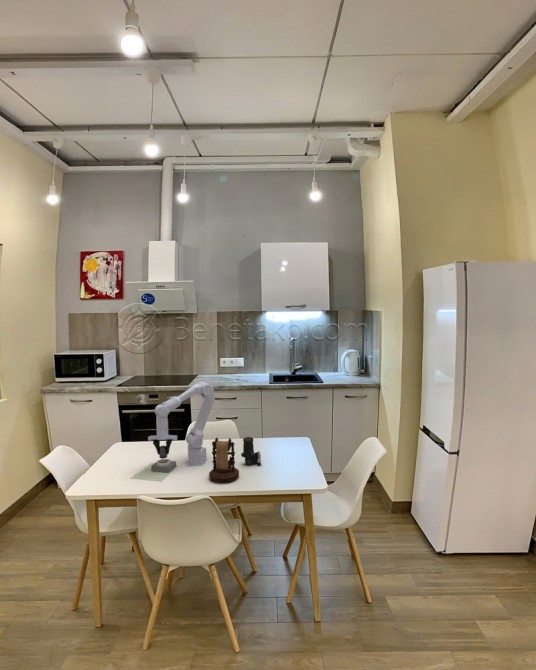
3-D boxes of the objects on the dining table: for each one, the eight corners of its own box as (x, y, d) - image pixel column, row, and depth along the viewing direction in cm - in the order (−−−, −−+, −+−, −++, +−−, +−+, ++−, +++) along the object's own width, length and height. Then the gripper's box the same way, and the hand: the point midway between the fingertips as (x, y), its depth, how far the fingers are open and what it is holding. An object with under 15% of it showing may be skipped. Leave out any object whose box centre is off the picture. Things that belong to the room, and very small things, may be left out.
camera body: (176, 466, 218) (176, 459, 218) (169, 473, 210) (168, 465, 210) (159, 465, 221) (158, 457, 220) (151, 471, 213) (151, 463, 213)
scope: (260, 440, 217) (241, 441, 215) (261, 466, 218) (242, 467, 217) (258, 435, 225) (240, 436, 224) (259, 460, 226) (240, 461, 225)
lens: (169, 456, 216) (168, 445, 215) (164, 458, 212) (163, 448, 212) (162, 455, 218) (162, 444, 217) (157, 457, 214) (157, 447, 213)
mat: (179, 466, 220) (179, 465, 220) (161, 482, 201) (160, 481, 201) (151, 463, 224) (151, 463, 224) (130, 479, 205) (129, 478, 205)
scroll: (205, 483, 199) (203, 442, 197) (214, 470, 214) (213, 432, 212) (235, 484, 197) (233, 443, 195) (242, 472, 211) (241, 433, 209)
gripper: (178, 425, 218) (179, 450, 219) (150, 426, 218) (151, 451, 219) (175, 429, 211) (176, 455, 212) (146, 430, 211) (147, 456, 212)
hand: (163, 453), depth 215 cm, fingers closed on lens, 4 cm apart
